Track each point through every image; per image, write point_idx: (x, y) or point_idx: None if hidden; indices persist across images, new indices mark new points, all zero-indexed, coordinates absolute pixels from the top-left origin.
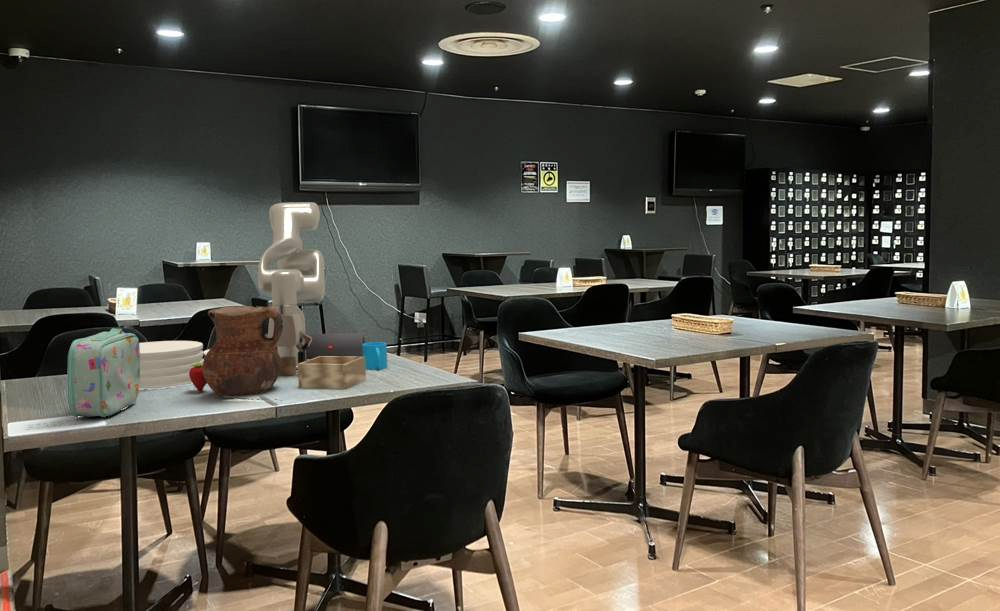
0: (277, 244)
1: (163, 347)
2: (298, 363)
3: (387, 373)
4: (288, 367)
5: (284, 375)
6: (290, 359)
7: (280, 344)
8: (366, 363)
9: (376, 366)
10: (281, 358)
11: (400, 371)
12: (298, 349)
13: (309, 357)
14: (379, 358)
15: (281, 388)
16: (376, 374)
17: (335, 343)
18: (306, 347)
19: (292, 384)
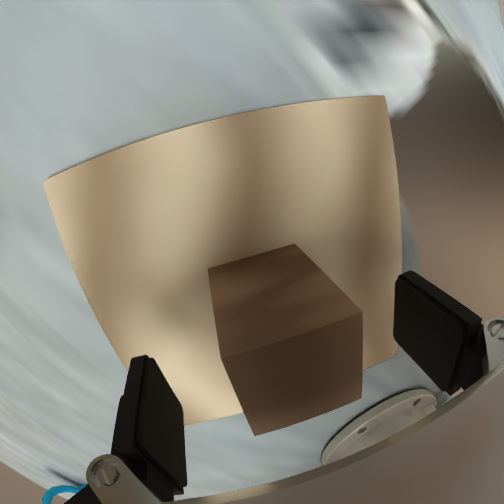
0: None
1: None
2: (149, 359)
3: (3, 446)
4: (228, 298)
5: (256, 260)
6: (223, 360)
7: (416, 450)
8: None
9: (65, 487)
10: (325, 326)
11: (12, 465)
12: (132, 478)
13: None
14: (42, 501)
15: (53, 6)
16: (5, 435)
17: None
18: (67, 501)
19: (58, 118)
